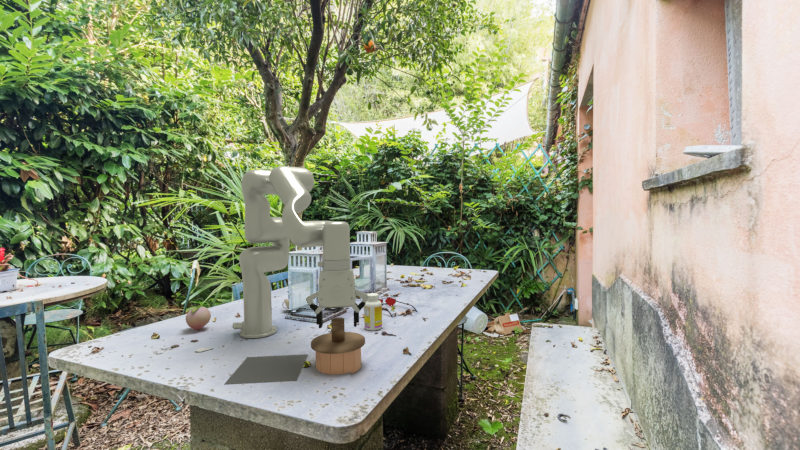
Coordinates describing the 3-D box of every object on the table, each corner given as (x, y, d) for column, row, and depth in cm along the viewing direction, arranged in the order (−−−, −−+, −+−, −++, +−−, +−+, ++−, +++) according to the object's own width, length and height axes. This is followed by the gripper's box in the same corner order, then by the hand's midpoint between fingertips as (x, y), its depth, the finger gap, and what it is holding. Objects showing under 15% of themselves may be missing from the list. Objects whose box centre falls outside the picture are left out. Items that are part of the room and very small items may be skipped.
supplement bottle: (383, 325, 142) (382, 292, 142) (380, 331, 136) (380, 296, 135) (366, 325, 143) (365, 292, 143) (362, 331, 136) (362, 296, 136)
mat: (223, 386, 93) (223, 384, 93) (247, 359, 111) (247, 357, 111) (296, 382, 95) (296, 380, 95) (308, 356, 113) (308, 354, 113)
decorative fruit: (209, 332, 138) (209, 305, 138) (184, 335, 135) (183, 307, 135) (212, 325, 147) (211, 300, 147) (188, 328, 144) (187, 302, 144)
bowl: (313, 377, 98) (312, 352, 98) (319, 359, 110) (319, 337, 110) (360, 374, 99) (360, 350, 99) (361, 357, 111) (361, 335, 111)
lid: (307, 355, 96) (306, 328, 96) (314, 336, 111) (314, 313, 111) (365, 352, 98) (364, 325, 97) (365, 334, 113) (364, 311, 112)
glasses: (394, 305, 175) (394, 295, 175) (418, 312, 162) (417, 301, 162) (370, 310, 166) (370, 299, 166) (392, 318, 153) (392, 306, 153)
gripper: (302, 268, 99) (304, 331, 100) (367, 266, 101) (369, 329, 101) (307, 264, 107) (309, 323, 107) (367, 262, 108) (369, 321, 109)
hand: (338, 326), depth 104 cm, fingers open, 9 cm apart
